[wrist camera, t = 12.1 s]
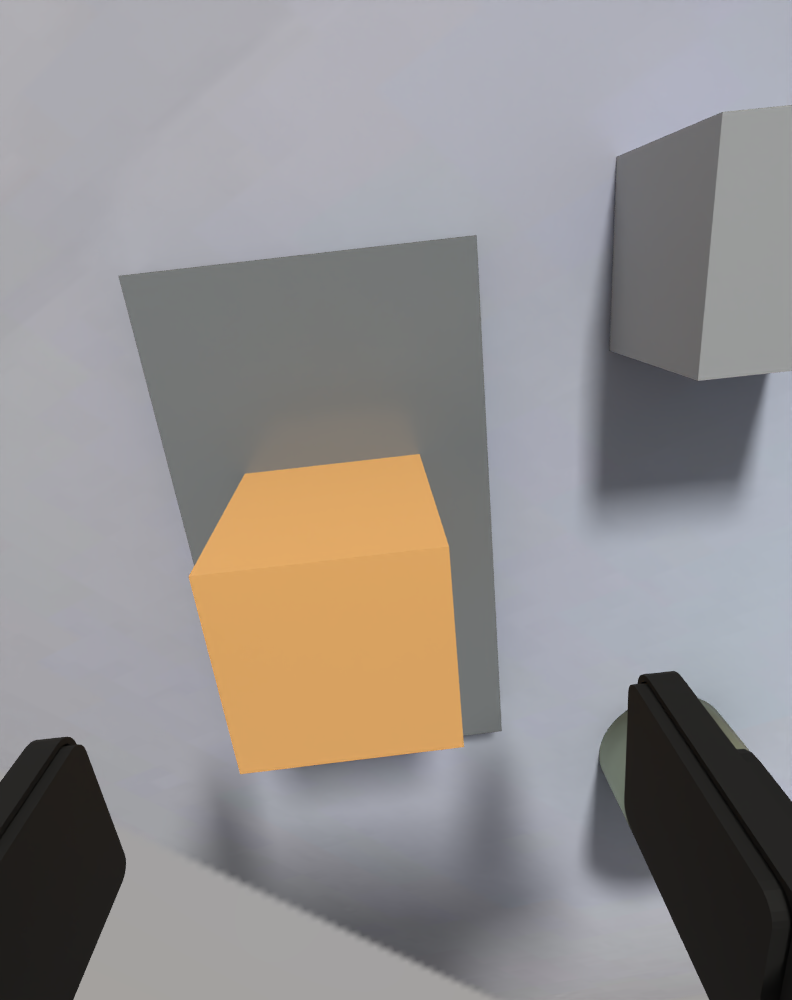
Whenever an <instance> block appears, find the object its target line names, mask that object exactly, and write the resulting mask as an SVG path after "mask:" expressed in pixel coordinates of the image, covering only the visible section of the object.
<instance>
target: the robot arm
mask: <svg viewBox="0 0 792 1000" xmlns="http://www.w3.org/2000/svg"><path fill="white" fill-rule="evenodd" d="M624 807H625V813H626V817H627V820H628V823H629V826H630V828H631V830H632V833H633V835H634V837H635V839H636V841H637V843H638V846H639V848H640V850H641V852H642V854H643V856H644V859H645V861H646V863H647V865H648V867H649V870H650V872H651V874H652V876H653V878H654V880H655V883H656V885H657V887H658V889H659V891H660V893H661V896H662V898H663V900H664V902H665V904H666V906H667V909H668V911H669V913H670V915H671V917H672V920H673V922H674V924H675V926H676V928H677V930H678V933H679V935H680V937H681V939H682V941H683V943H684V946H685V948H686V950H687V952H688V954H689V956H690V959H691V961H692V963H693V965H694V967H695V970H696V972H697V974H698V976H699V978H700V980H701V983H702V985H703V987H704V989H705V991H706V993H707V996H708V998H709V1000H792V801H791V800H790V799H789V798H788V796H787V795H786V794H785V792H784V791H783V790H782V789H781V787H780V786H779V785H778V784H777V782H776V781H775V780H774V779H773V777H772V776H771V775H770V773H769V772H768V771H767V770H766V768H765V767H764V766H763V765H762V763H761V762H760V761H759V760H758V759H757V758H756V757H755V756H754V755H753V753H752V752H750V751H748V750H746V749H736V748H735V746H734V745H733V744H732V743H731V741H730V740H729V739H728V737H727V736H726V735H725V733H724V732H723V731H722V729H721V728H720V727H719V725H718V724H717V723H716V721H715V720H714V719H713V718H712V716H711V715H710V714H709V712H708V711H707V710H706V708H705V707H704V706H703V704H702V703H701V702H700V700H699V699H698V698H697V696H696V695H695V694H694V693H693V691H692V690H691V689H690V687H689V686H688V685H687V683H686V682H685V681H684V679H683V678H682V677H681V676H680V675H679V674H678V673H677V672H675V671H670V672H661V673H652V674H643V675H640V677H639V679H638V684H634V685H630V687H629V692H628V716H627V741H626V766H625V791H624ZM125 869H126V858H125V854H124V852H123V849H122V846H121V844H120V840H119V838H118V835H117V832H116V830H115V827H114V824H113V822H112V819H111V816H110V814H109V811H108V808H107V806H106V803H105V800H104V798H103V795H102V792H101V789H100V787H99V784H98V781H97V779H96V776H95V773H94V771H93V768H92V765H91V763H90V760H89V757H88V755H87V752H86V750H85V748H84V747H83V746H82V745H77V744H76V742H75V741H74V739H72V738H71V737H61V738H51V739H42V740H35V741H33V742H31V743H30V744H29V745H28V746H27V747H26V748H25V749H24V751H23V752H22V753H21V755H20V756H19V757H18V759H17V760H16V761H15V763H14V764H13V766H12V767H11V768H10V770H9V771H8V772H7V774H6V775H5V776H4V778H3V779H2V780H1V782H0V1000H73V999H74V996H75V994H76V992H77V989H78V987H79V984H80V982H81V979H82V977H83V975H84V972H85V970H86V968H87V965H88V963H89V960H90V958H91V955H92V953H93V951H94V948H95V946H96V944H97V941H98V939H99V936H100V934H101V932H102V929H103V927H104V924H105V922H106V919H107V917H108V915H109V913H110V910H111V908H112V905H113V903H114V900H115V898H116V895H117V893H118V891H119V888H120V886H121V884H122V881H123V878H124V874H125Z"/></svg>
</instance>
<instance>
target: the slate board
mask: <svg viewBox="0 0 792 1000" xmlns="http://www.w3.org/2000/svg"><path fill="white" fill-rule="evenodd" d="M119 280H120V284H121V287H122V291H123V295H124V299H125V303H126V307H127V310H128V314H129V318H130V322H131V326H132V329H133V333H134V337H135V341H136V345H137V349H138V352H139V356H140V360H141V364H142V368H143V371H144V375H145V379H146V383H147V387H148V391H149V394H150V398H151V402H152V406H153V410H154V413H155V417H156V421H157V425H158V429H159V433H160V436H161V440H162V444H163V448H164V452H165V455H166V459H167V463H168V467H169V471H170V475H171V478H172V482H173V486H174V490H175V494H176V497H177V501H178V505H179V509H180V513H181V517H182V520H183V524H184V528H185V532H186V536H187V539H188V543H189V547H190V551H191V555H192V559H193V562H194V566H195V564H196V562H197V560H198V559H199V557H200V555H201V553H202V551H203V549H204V548H205V546H206V544H207V542H208V540H209V538H210V537H211V535H212V533H213V531H214V529H215V527H216V526H217V524H218V522H219V520H220V518H221V516H222V515H223V513H224V511H225V509H226V507H227V505H228V504H229V502H230V500H231V498H232V496H233V494H234V493H235V491H236V489H237V487H238V485H239V483H240V482H241V480H242V478H243V476H244V474H247V473H256V472H265V471H274V470H283V469H292V468H300V467H309V466H318V465H327V464H336V463H345V462H353V461H362V460H371V459H380V458H389V457H398V456H406V455H415V454H420V457H421V460H422V463H423V466H424V470H425V473H426V476H427V479H428V482H429V485H430V488H431V491H432V495H433V498H434V501H435V504H436V507H437V510H438V513H439V517H440V520H441V523H442V526H443V529H444V532H445V535H446V538H447V542H448V545H449V552H450V566H451V579H452V593H453V606H454V620H455V633H456V647H457V660H458V674H459V687H460V701H461V714H462V728H463V736H466V735H474V734H482V733H490V732H498V731H502V729H501V709H500V690H499V670H498V650H497V630H496V611H495V591H494V571H493V551H492V532H491V512H490V492H489V472H488V452H487V433H486V413H485V393H484V373H483V354H482V334H481V314H480V294H479V275H478V255H477V235H474V236H465V237H457V238H448V239H439V240H430V241H421V242H413V243H404V244H395V245H386V246H377V247H369V248H360V249H351V250H342V251H333V252H325V253H316V254H307V255H298V256H289V257H281V258H272V259H263V260H254V261H245V262H237V263H228V264H219V265H210V266H202V267H193V268H184V269H175V270H166V271H158V272H149V273H140V274H131V275H122V276H119Z"/></svg>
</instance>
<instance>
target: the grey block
mask: <svg viewBox="0 0 792 1000" xmlns="http://www.w3.org/2000/svg"><path fill="white" fill-rule="evenodd" d="M609 351H612V352H615V353H618V354H621V355H624V356H626V357H629V358H632V359H635V360H638V361H641V362H644V363H647V364H650V365H653V366H656V367H659V368H662V369H665V370H667V371H670V372H673V373H676V374H679V375H682V376H685V377H688V378H691V379H694V380H697V381H702V380H711V379H720V378H729V377H739V376H748V375H757V374H767V373H776V372H785V371H792V105H788V106H778V107H768V108H758V109H748V110H738V111H728V112H722V113H719V114H717V115H714V116H712V117H710V118H707V119H705V120H703V121H700V122H698V123H696V124H693V125H691V126H688V127H686V128H684V129H681V130H679V131H677V132H674V133H672V134H670V135H667V136H665V137H662V138H660V139H658V140H655V141H653V142H651V143H648V144H646V145H644V146H641V147H639V148H636V149H634V150H632V151H629V152H627V153H625V154H622V155H620V156H618V157H617V161H616V188H615V215H614V242H613V269H612V296H611V323H610V350H609Z"/></svg>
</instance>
